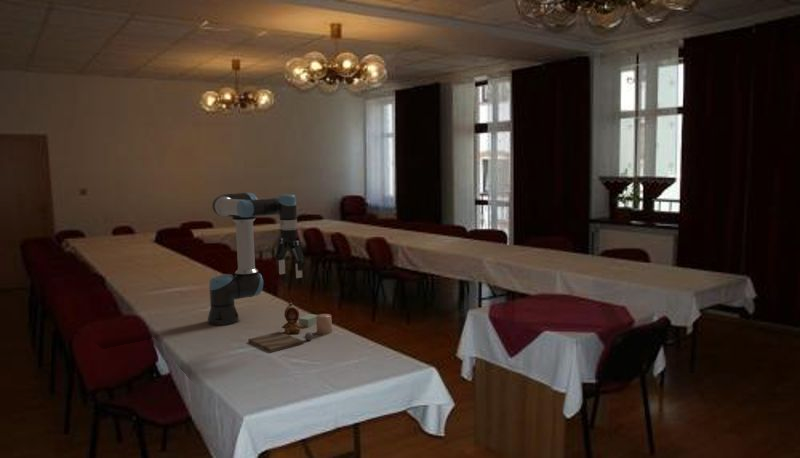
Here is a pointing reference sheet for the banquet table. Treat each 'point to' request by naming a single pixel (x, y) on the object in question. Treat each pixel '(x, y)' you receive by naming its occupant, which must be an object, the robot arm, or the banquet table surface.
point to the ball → (308, 336)
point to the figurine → (292, 320)
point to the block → (308, 320)
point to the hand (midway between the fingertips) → (290, 275)
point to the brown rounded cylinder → (324, 324)
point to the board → (275, 341)
